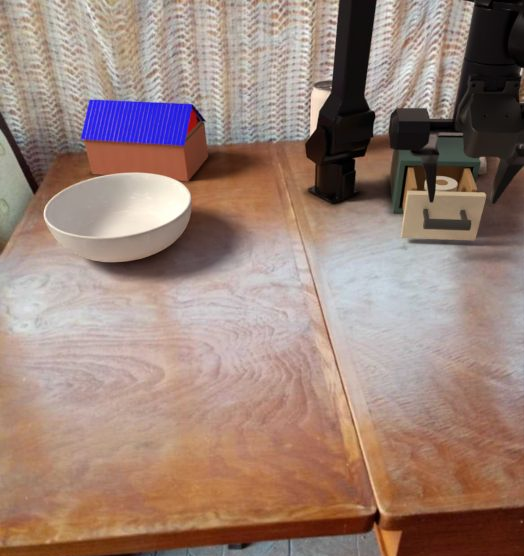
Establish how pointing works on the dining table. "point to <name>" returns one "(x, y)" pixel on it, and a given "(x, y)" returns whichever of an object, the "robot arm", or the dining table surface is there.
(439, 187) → the toilet paper roll
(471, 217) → the drawer
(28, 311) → the dining table surface
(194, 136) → the house
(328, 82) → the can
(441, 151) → the cabinet
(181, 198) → the serving bowl
